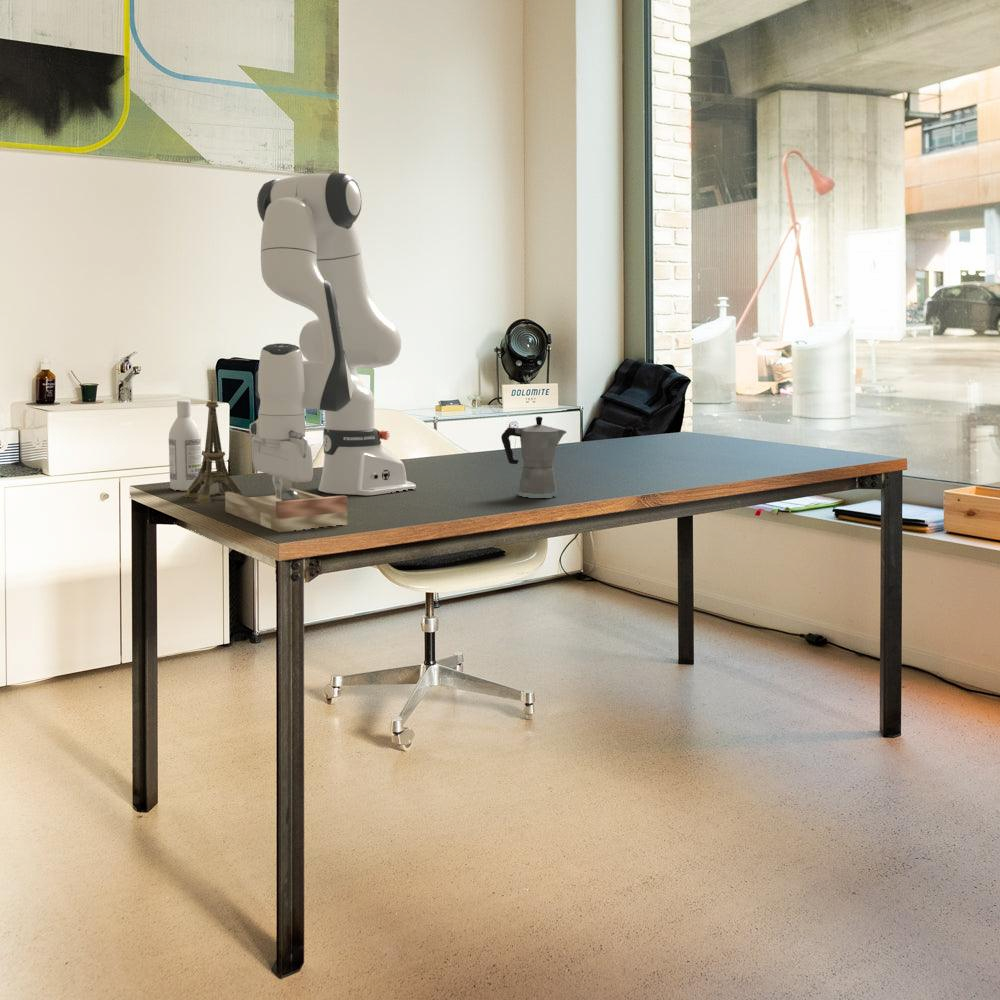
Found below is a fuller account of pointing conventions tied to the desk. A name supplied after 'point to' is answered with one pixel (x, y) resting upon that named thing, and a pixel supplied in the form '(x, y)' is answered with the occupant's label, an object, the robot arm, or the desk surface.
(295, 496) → the steel ball
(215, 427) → the eiffel tower
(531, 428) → the coffeepot
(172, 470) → the bath foam
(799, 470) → the desk surface
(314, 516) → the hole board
